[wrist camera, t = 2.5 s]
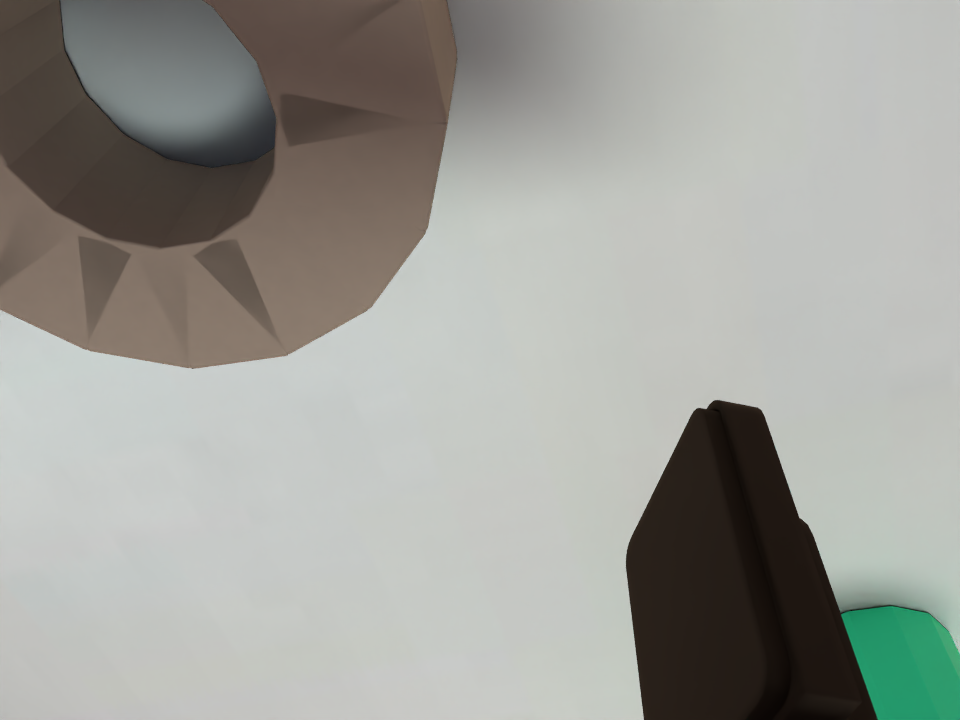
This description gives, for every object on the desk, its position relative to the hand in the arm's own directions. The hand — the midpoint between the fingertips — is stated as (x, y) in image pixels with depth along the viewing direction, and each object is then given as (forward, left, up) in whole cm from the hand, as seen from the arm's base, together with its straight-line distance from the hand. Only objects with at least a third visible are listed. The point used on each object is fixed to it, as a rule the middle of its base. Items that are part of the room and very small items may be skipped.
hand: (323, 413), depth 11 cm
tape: (-5, 0, -11) cm, 12 cm away
